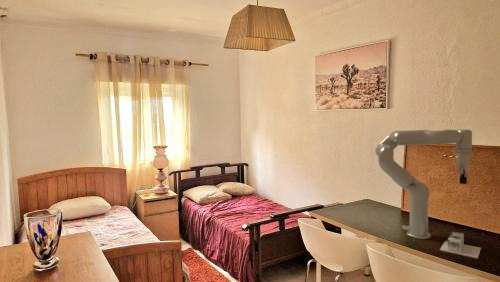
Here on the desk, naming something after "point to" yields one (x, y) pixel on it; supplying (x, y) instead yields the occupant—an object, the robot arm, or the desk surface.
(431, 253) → the desk surface
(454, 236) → the syrup box
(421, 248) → the desk surface
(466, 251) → the mat
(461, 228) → the desk surface
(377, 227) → the desk surface
